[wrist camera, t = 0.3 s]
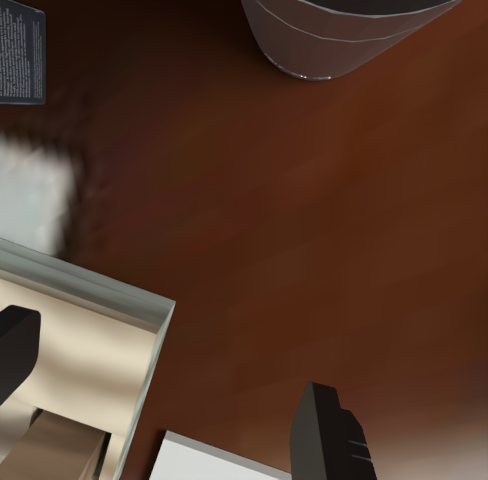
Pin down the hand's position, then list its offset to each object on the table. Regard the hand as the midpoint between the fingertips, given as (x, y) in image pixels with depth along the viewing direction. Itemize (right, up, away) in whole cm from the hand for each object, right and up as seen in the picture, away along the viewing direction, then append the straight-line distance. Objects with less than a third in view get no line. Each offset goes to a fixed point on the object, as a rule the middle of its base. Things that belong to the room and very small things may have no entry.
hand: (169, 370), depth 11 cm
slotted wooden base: (-15, -8, +24) cm, 29 cm away
